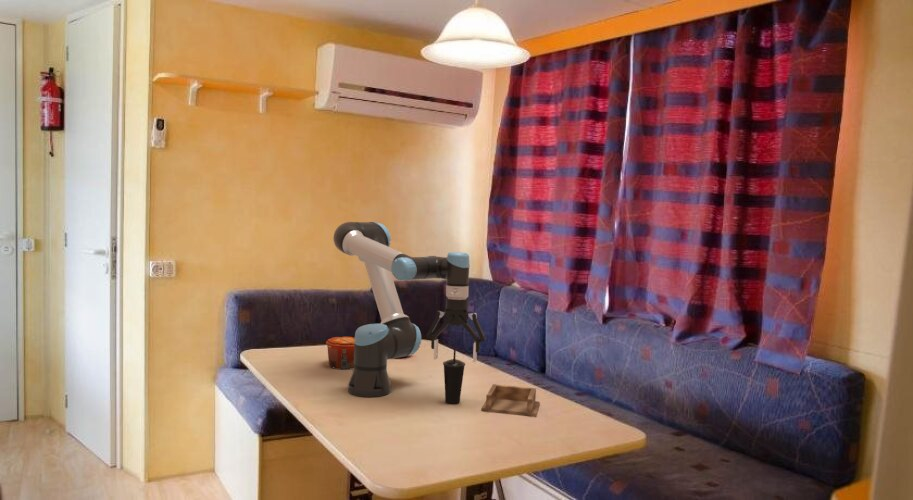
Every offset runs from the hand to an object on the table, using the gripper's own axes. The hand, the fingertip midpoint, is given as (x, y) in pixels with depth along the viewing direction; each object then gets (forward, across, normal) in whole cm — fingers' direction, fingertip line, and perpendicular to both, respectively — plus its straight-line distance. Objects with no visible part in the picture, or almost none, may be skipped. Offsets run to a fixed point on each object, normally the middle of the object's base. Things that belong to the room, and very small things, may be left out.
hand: (455, 360), depth 221 cm
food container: (+14, -54, +35) cm, 66 cm away
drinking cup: (+15, 0, 0) cm, 15 cm away
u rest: (+15, +20, +1) cm, 25 cm away
